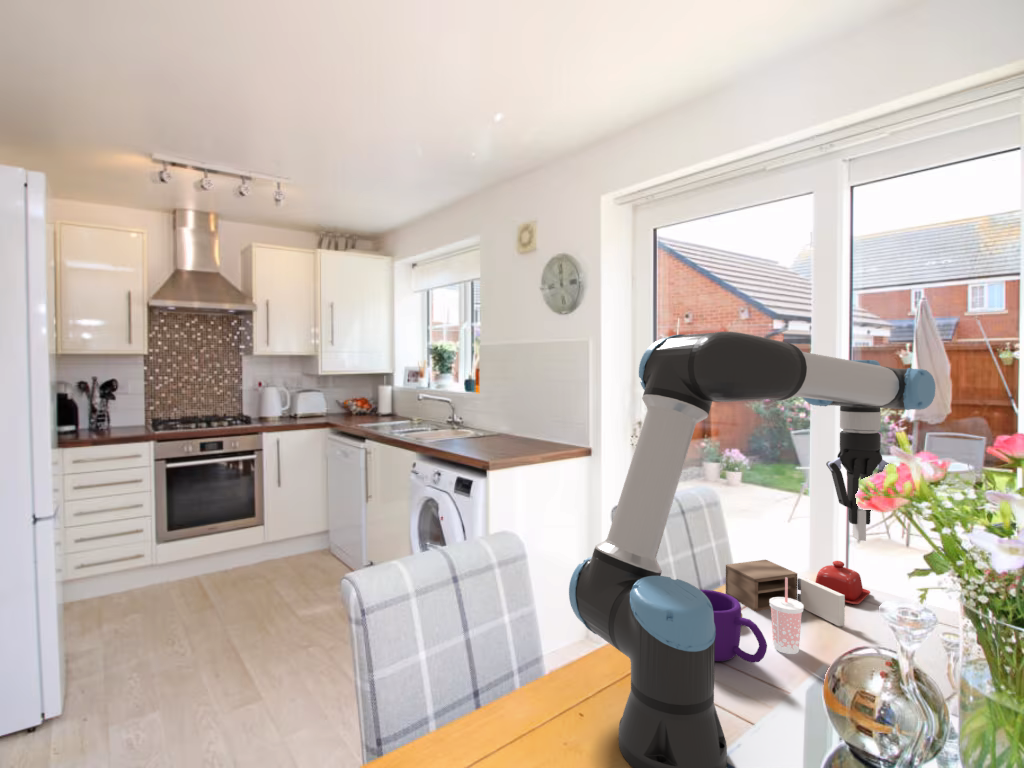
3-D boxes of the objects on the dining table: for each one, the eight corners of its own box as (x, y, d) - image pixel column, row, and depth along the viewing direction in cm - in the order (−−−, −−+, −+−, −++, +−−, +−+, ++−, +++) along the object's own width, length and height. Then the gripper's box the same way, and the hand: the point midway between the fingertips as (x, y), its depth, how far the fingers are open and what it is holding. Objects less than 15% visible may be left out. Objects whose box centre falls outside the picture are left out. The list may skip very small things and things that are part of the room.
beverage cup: (810, 651, 108) (810, 580, 107) (789, 658, 105) (790, 585, 104) (782, 638, 113) (782, 570, 113) (762, 644, 110) (762, 575, 110)
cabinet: (797, 605, 129) (797, 573, 129) (754, 611, 125) (755, 579, 125) (765, 589, 138) (765, 559, 138) (725, 595, 135) (725, 564, 135)
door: (795, 604, 128) (795, 576, 128) (804, 602, 129) (805, 575, 129) (838, 626, 117) (839, 596, 117) (848, 624, 118) (849, 594, 118)
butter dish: (857, 609, 127) (858, 573, 127) (804, 595, 135) (804, 560, 135) (872, 596, 135) (872, 561, 135) (821, 583, 143) (821, 550, 143)
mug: (667, 647, 109) (667, 597, 109) (702, 631, 116) (702, 584, 116) (748, 687, 95) (748, 630, 95) (783, 667, 102) (783, 613, 102)
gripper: (883, 429, 122) (882, 534, 123) (820, 428, 124) (820, 532, 125) (902, 433, 115) (901, 545, 116) (834, 432, 117) (834, 542, 117)
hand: (859, 538), depth 120 cm, fingers closed
